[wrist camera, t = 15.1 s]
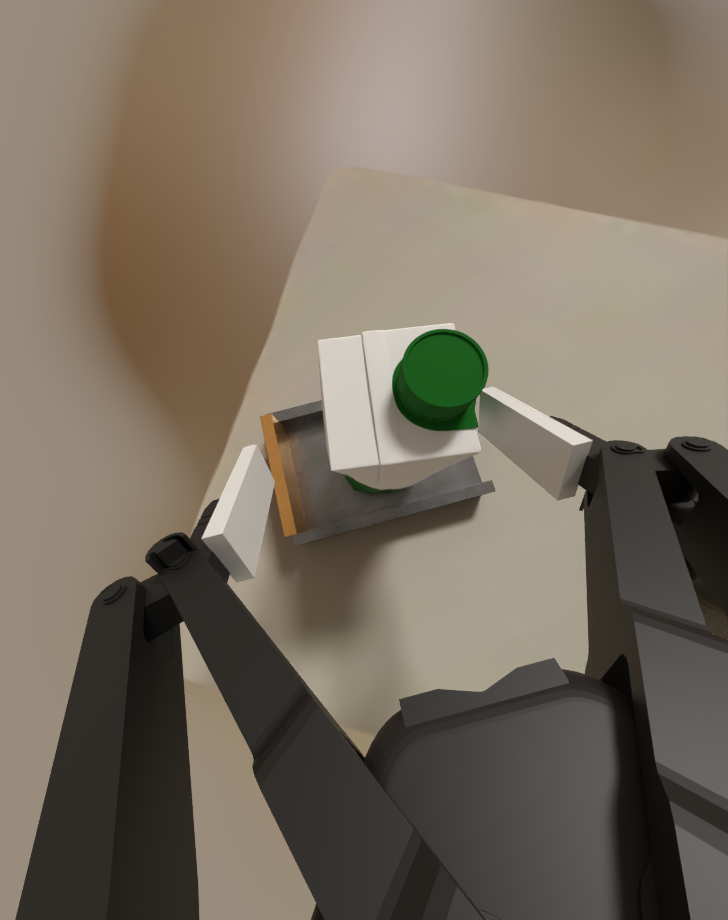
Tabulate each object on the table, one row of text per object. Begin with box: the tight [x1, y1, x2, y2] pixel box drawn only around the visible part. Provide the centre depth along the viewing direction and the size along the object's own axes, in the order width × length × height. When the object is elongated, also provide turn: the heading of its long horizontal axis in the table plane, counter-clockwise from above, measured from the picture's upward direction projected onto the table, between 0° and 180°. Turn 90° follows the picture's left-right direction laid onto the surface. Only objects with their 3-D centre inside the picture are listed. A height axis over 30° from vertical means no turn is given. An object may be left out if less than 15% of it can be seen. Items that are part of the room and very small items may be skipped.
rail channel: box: [260, 400, 495, 546], centre depth 30 cm, size 22×15×6 cm
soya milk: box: [318, 323, 488, 492], centre depth 22 cm, size 9×9×20 cm
